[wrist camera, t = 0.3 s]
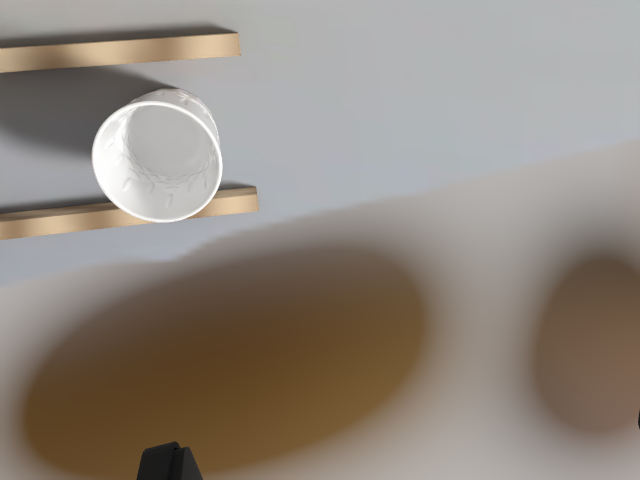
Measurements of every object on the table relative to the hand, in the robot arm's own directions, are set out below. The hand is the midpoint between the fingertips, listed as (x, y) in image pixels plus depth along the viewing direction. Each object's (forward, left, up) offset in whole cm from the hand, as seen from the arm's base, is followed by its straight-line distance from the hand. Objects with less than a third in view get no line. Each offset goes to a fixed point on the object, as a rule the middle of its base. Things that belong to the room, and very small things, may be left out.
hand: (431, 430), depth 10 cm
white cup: (-7, -5, -35) cm, 36 cm away
